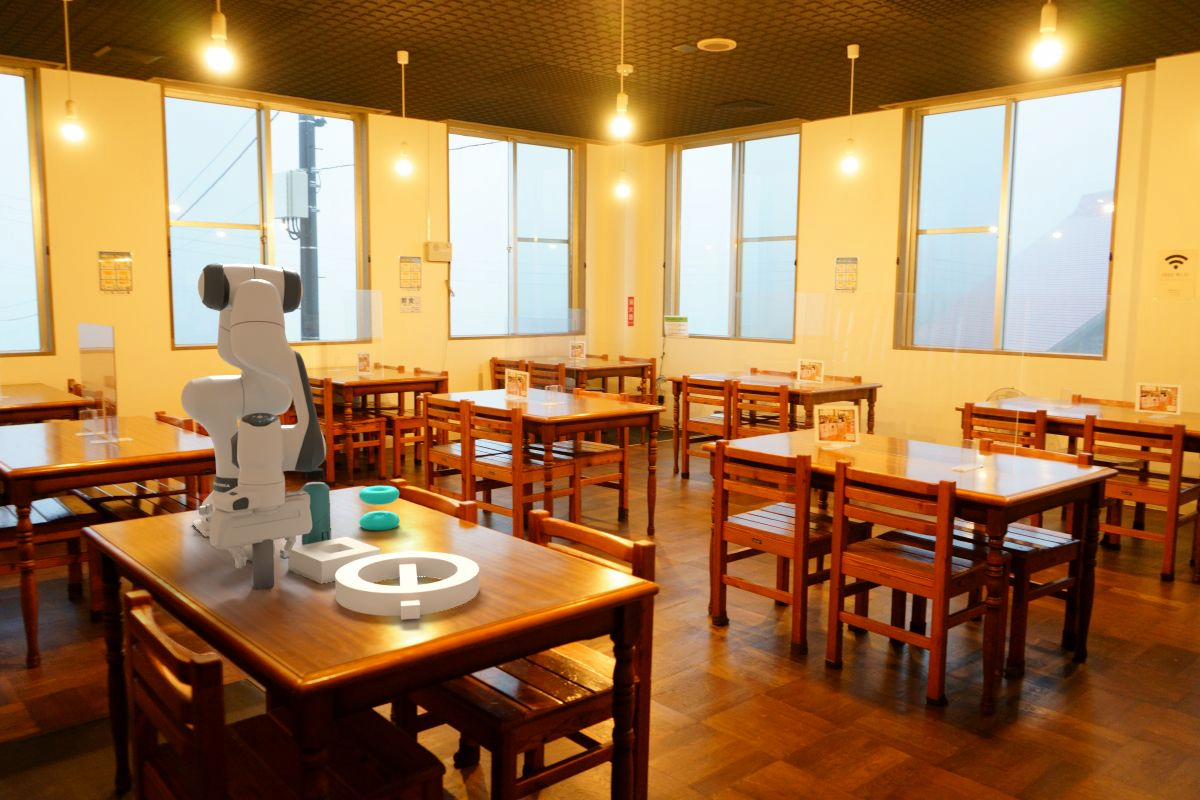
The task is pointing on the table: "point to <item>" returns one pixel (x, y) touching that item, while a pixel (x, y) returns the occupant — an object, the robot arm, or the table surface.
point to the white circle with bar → (406, 583)
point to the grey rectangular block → (263, 564)
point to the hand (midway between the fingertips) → (263, 562)
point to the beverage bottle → (318, 508)
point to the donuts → (379, 518)
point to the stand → (328, 557)
